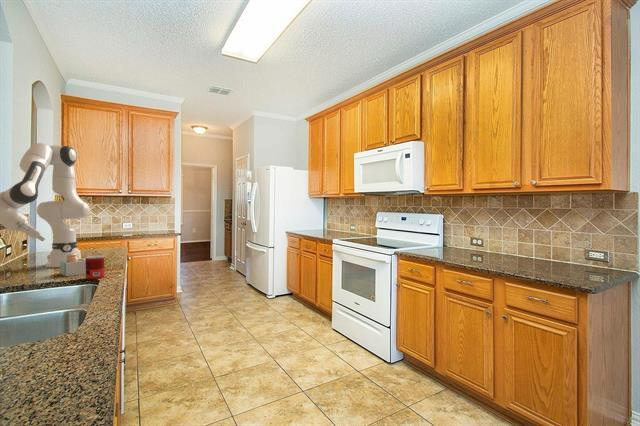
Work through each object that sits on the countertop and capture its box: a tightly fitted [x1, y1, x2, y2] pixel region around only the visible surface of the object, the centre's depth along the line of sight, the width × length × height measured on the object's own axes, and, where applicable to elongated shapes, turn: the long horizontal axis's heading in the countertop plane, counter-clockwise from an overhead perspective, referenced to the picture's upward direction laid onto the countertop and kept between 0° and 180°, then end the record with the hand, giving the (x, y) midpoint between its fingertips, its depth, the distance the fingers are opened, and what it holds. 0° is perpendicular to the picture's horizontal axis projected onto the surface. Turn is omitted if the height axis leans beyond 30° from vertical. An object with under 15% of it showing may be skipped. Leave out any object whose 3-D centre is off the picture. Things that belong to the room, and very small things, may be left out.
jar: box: [67, 254, 78, 263], centre depth 176 cm, size 5×5×9 cm
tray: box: [59, 260, 66, 277], centre depth 177 cm, size 9×10×7 cm
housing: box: [63, 257, 86, 277], centre depth 177 cm, size 11×10×7 cm
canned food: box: [85, 254, 105, 280], centre depth 168 cm, size 8×8×11 cm
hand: (43, 240), depth 168 cm, fingers closed
